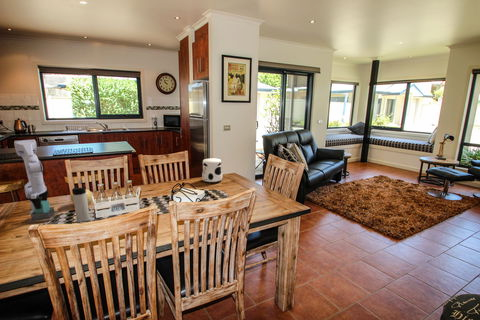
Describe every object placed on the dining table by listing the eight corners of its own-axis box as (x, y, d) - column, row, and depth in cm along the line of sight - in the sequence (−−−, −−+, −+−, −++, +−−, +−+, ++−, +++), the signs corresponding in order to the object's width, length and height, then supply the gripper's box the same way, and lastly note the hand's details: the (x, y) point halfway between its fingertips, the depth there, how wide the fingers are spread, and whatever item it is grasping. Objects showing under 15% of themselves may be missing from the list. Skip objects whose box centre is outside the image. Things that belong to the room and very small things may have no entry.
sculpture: (76, 201, 170) (74, 186, 168) (96, 200, 173) (94, 185, 170) (69, 208, 160) (66, 192, 157) (90, 207, 162) (87, 191, 159)
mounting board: (37, 214, 151) (37, 212, 151) (59, 212, 154) (58, 210, 154) (26, 224, 139) (26, 222, 139) (50, 221, 142) (50, 219, 142)
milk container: (198, 180, 216) (197, 160, 212) (214, 176, 228) (214, 157, 224) (210, 185, 204) (209, 163, 200) (226, 181, 216) (226, 160, 212)
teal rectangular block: (42, 213, 149) (39, 200, 147) (50, 213, 149) (48, 200, 147) (35, 217, 144) (33, 204, 142) (44, 217, 144) (42, 204, 142)
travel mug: (76, 224, 139) (70, 190, 134) (78, 219, 145) (72, 186, 140) (89, 222, 141) (84, 188, 137) (90, 217, 147) (86, 184, 143)
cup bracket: (37, 213, 150) (36, 208, 149) (56, 211, 152) (55, 206, 151) (29, 220, 141) (28, 215, 140) (49, 218, 143) (48, 213, 143)
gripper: (34, 180, 148) (38, 202, 151) (22, 188, 134) (27, 212, 137) (49, 179, 150) (52, 200, 153) (38, 187, 136) (42, 210, 139)
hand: (41, 206), depth 145 cm, fingers open, 7 cm apart
